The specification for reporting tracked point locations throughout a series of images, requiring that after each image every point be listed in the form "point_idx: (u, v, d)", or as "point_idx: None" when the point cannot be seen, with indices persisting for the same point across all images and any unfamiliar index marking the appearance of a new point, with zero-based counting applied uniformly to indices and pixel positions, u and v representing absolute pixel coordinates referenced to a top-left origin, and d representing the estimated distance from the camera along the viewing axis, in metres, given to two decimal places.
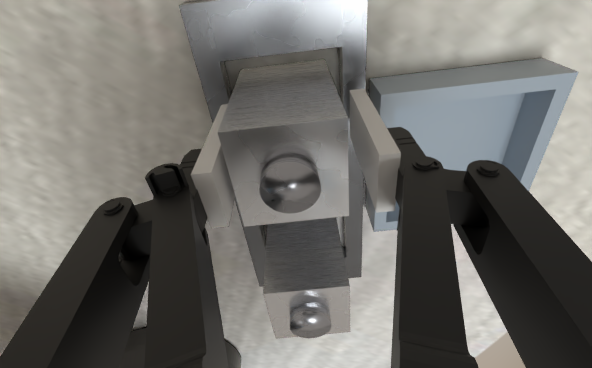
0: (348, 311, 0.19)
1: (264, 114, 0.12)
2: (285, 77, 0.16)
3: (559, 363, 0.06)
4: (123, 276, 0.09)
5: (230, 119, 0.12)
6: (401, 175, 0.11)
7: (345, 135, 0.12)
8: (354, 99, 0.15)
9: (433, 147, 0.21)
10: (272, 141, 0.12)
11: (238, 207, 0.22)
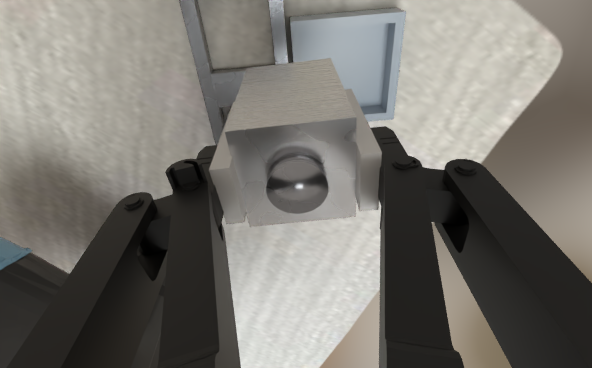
0: None
1: (271, 113, 0.12)
2: (292, 76, 0.16)
3: (540, 358, 0.06)
4: (141, 271, 0.09)
5: (237, 118, 0.12)
6: (382, 175, 0.11)
7: (353, 135, 0.12)
8: None
9: (335, 68, 0.32)
10: (279, 140, 0.12)
11: (207, 108, 0.33)
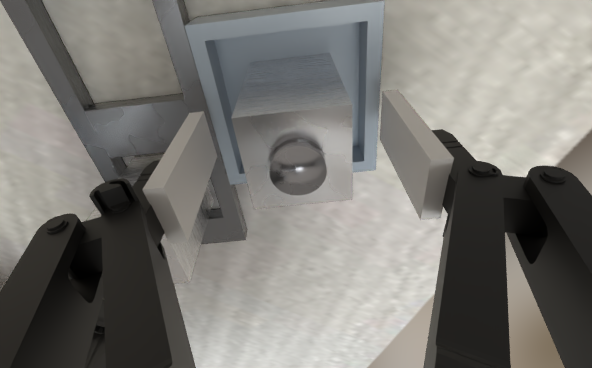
0: (175, 257, 0.18)
1: (274, 102, 0.13)
2: (293, 69, 0.17)
3: None
4: (75, 293, 0.09)
5: (242, 106, 0.13)
6: (454, 179, 0.11)
7: (350, 121, 0.13)
8: (390, 100, 0.15)
9: None
10: (281, 126, 0.13)
11: (93, 159, 0.22)
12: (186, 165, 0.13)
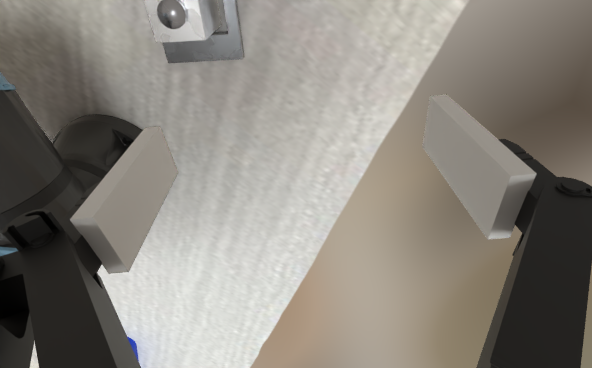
0: (199, 12, 0.28)
1: None
2: None
3: None
4: (1, 330, 0.08)
5: None
6: (536, 195, 0.10)
7: None
8: (441, 107, 0.14)
9: None
10: None
11: None
12: (130, 188, 0.12)
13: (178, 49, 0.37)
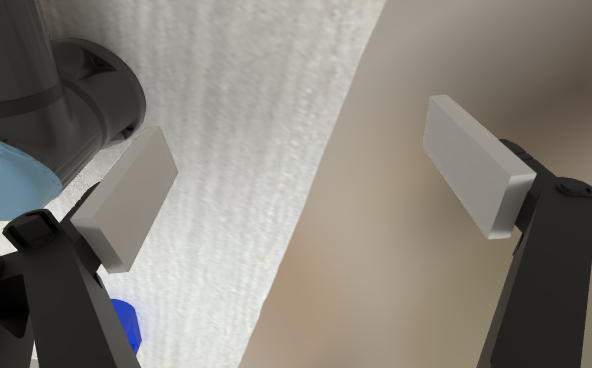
0: None
1: None
2: None
3: None
4: (1, 330, 0.08)
5: None
6: (536, 195, 0.10)
7: None
8: (441, 107, 0.14)
9: None
10: None
11: None
12: (130, 188, 0.12)
13: None
